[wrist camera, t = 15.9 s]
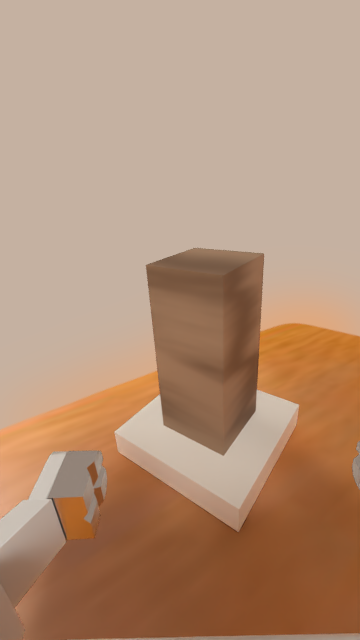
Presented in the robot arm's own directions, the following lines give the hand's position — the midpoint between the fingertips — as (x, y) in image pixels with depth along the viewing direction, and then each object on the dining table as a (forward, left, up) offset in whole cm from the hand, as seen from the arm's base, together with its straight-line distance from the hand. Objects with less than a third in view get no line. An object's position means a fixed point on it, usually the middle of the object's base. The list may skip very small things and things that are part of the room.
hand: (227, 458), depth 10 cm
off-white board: (-9, -6, -10) cm, 15 cm away
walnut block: (-9, -6, -8) cm, 13 cm away
